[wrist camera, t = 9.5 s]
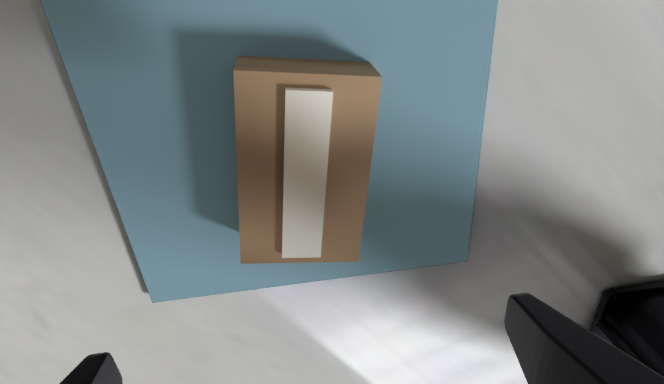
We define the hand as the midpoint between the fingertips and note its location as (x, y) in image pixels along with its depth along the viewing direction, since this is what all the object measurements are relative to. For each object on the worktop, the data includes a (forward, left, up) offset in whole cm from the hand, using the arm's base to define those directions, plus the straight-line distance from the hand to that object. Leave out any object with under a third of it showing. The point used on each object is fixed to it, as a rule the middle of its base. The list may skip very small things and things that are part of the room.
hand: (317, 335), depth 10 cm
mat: (0, 0, -10) cm, 10 cm away
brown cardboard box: (0, 0, -10) cm, 10 cm away
